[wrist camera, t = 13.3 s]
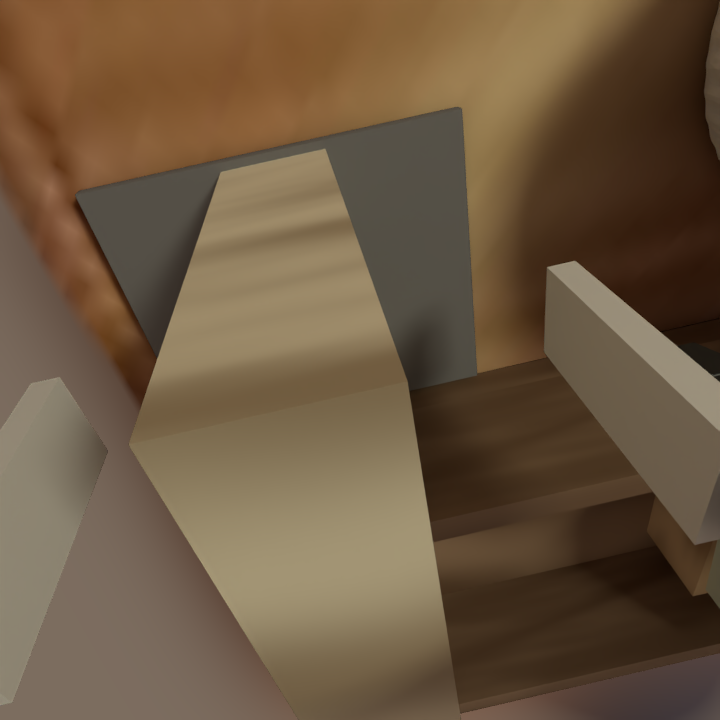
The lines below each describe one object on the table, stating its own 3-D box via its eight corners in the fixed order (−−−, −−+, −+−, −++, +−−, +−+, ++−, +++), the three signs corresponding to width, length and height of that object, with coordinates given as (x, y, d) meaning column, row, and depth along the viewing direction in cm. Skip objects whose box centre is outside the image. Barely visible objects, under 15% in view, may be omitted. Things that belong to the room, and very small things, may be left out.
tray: (263, 422, 20) (259, 561, 15) (805, 299, 20) (981, 395, 15) (335, 608, 28) (348, 739, 23) (723, 518, 28) (821, 629, 23)
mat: (79, 191, 15) (74, 194, 14) (457, 106, 15) (461, 108, 14) (199, 431, 20) (197, 439, 20) (473, 369, 20) (477, 375, 20)
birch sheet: (220, 171, 14) (127, 444, 5) (325, 148, 14) (407, 380, 5) (299, 410, 20) (319, 753, 11) (375, 393, 20) (460, 719, 11)
